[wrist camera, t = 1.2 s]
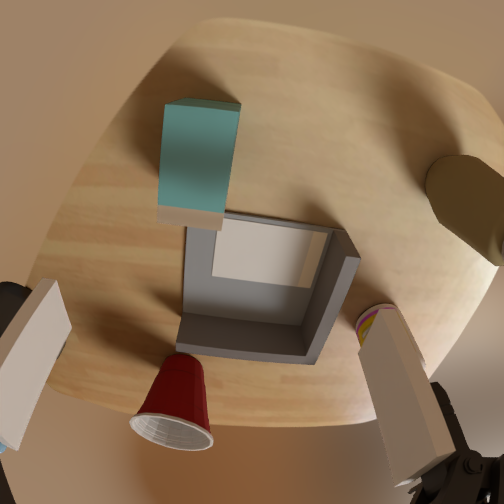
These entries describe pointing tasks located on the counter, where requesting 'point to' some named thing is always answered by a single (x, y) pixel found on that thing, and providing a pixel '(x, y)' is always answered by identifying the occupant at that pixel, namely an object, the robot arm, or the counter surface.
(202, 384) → the plastic cup
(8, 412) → the robot arm
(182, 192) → the teal block
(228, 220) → the corner tray
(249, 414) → the counter surface
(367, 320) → the supplement bottle
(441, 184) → the squeeze bottle
